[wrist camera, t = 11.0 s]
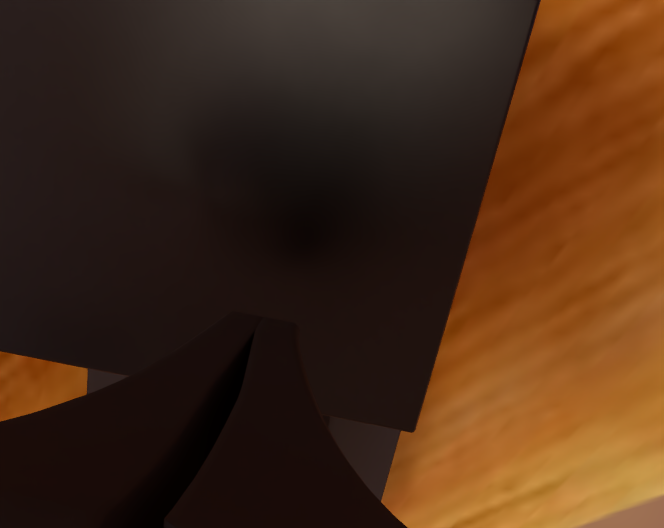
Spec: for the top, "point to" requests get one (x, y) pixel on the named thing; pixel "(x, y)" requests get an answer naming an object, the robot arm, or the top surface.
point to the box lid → (249, 178)
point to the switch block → (352, 437)
